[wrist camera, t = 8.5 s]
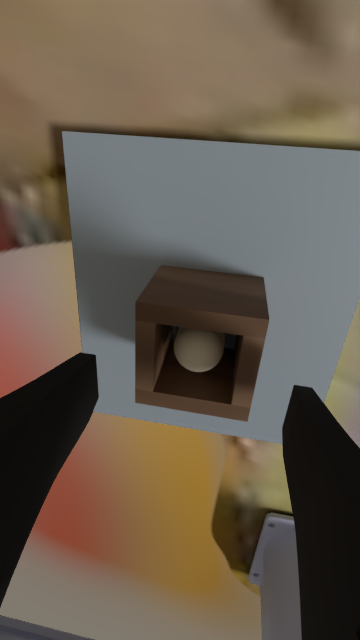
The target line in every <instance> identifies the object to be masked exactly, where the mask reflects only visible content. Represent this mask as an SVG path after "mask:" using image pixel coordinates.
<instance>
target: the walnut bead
mask: <svg viewBox="0 0 360 640" xmlns="http://www.w3.org/2000/svg"><path fill="white" fill-rule="evenodd" d="M268 324H269V313H268V305H267V298H266V290H265V283H264V277H256V276H248V275H239V274H231V273H223V272H214V271H206V270H198V269H189V268H181V267H173V266H164V265H160V267H159V268H158V270H157V271H156V273H155V274H154V276H153V277H152V278H151V280H150V281H149V283H148V284H147V286H146V287H145V289H144V290H143V292H142V293H141V294H140V296H139V297H138V299H137V300H136V302H135V403H139V404H145V405H151V406H157V407H163V408H169V409H175V410H181V411H186V412H192V413H198V414H204V415H210V416H216V417H222V418H227V419H233V420H239V421H245V422H248V417H249V413H250V408H251V403H252V399H253V394H254V389H255V385H256V380H257V375H258V371H259V366H260V361H261V357H262V352H263V348H264V343H265V338H266V334H267V329H268ZM173 326H178V327H185V328H192V329H200V330H207V331H214V332H221V333H228V334H235V335H237V337H236V343H235V349H230V348H224V351H223V355H222V358H221V360H220V361H219V363H218V364H217V365H216V366H215V367H213V368H212V369H210V370H208V371H204V372H194V371H190V370H188V369H186V368H185V367H183V366H182V365H181V364H180V363H179V362H178V360H177V358H176V356H175V353H174V341H175V340H172V334H173Z"/></svg>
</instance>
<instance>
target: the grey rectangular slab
mask: <svg viewBox="0 0 360 640" xmlns="http://www.w3.org/2000/svg"><path fill="white" fill-rule="evenodd" d="M62 138H63V149H64V160H65V170H66V181H67V192H68V203H69V214H70V224H71V235H72V246H73V257H74V268H75V278H76V289H77V299H78V311H79V321H80V331H81V343H82V353H87V354H94V355H96V363H97V378H98V392H99V398H98V401H97V403H96V406H95V408H94V411H93V412H98V413H104V414H110V415H115V416H122V417H127V418H133V419H139V420H145V421H151V422H156V423H163V424H168V425H174V426H180V427H185V428H192V429H197V430H203V431H209V432H215V433H220V434H226V435H232V436H238V437H244V438H250V439H255V440H261V441H267V442H273V443H279V444H283V443H282V426H283V423H284V419H285V415H286V412H287V408H288V404H289V401H290V397H291V393H292V390H293V386H294V385H299V386H306V387H312V388H313V389H314V391H315V392H316V393H317V395H318V396H319V397H320V399H321V400H322V402H323V403H324V401H325V398H326V395H327V392H328V389H329V386H330V383H331V380H332V378H333V375H334V372H335V369H336V366H337V363H338V360H339V357H340V354H341V351H342V348H343V345H344V342H345V339H346V336H347V333H348V330H349V327H350V324H351V321H352V318H353V315H354V312H355V309H356V307H357V304H358V301H359V298H360V151H354V150H339V149H324V148H309V147H294V146H279V145H264V144H249V143H234V142H219V141H204V140H189V139H175V138H160V137H145V136H130V135H115V134H100V133H85V132H69V131H62ZM160 265H164V266H173V267H181V268H189V269H198V270H206V271H214V272H223V273H231V274H239V275H248V276H256V277H264V283H265V290H266V298H267V305H268V313H269V324H268V329H267V334H266V338H265V343H264V348H263V352H262V357H261V361H260V366H259V371H258V375H257V380H256V385H255V389H254V394H253V399H252V403H251V408H250V413H249V417H248V422H245V421H239V420H233V419H227V418H222V417H216V416H210V415H204V414H198V413H192V412H186V411H181V410H175V409H169V408H163V407H157V406H151V405H145V404H139V403H135V302H136V300H137V299H138V297H139V296H140V294H141V293H142V292H143V290H144V289H145V287H146V286H147V284H148V283H149V281H150V280H151V278H152V277H153V276H154V274H155V273H156V271H157V270H158V268H159V267H160ZM236 337H237V335H235V334H228V333H221V332H214V331H207V330H200V329H192V328H185V327H178V326H173V334H172V340H175V341H174V353H175V356H176V358H177V360H178V362H179V363H180V364H181V365H182V366H183V367H185V368H186V369H188V370H190V371H194V372H204V371H208V370H210V369H212V368H213V367H215V366H216V365H217V364H218V363H219V361H220V360H221V358H222V355H223V351H224V348H230V349H235V343H236Z"/></svg>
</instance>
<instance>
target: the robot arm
mask: <svg viewBox="0 0 360 640" xmlns="http://www.w3.org/2000/svg"><path fill="white" fill-rule="evenodd" d="M98 398H99V392H98V378H97V363H96V355H94V354H87V353H79V354H77V355H75V356H74V357H72V358H70V359H68V360H67V361H65V362H64V363H62V364H60V365H59V366H57V367H55V368H54V369H52V370H50V371H49V372H47V373H45V374H44V375H42V376H40V377H39V378H37V379H36V380H33V381H32V382H30V383H28V384H26V385H24V386H23V387H21V388H19V389H17V390H15V391H13V392H11V393H10V394H8V395H6V396H4V397H2V398H0V606H1V604H2V601H3V599H4V596H5V594H6V591H7V588H8V586H9V583H10V580H11V578H12V575H13V573H14V570H15V568H16V566H17V563H18V561H19V558H20V556H21V553H22V551H23V549H24V546H25V544H26V541H27V539H28V537H29V534H30V532H31V530H32V527H33V525H34V523H35V521H36V518H37V516H38V514H39V512H40V509H41V507H42V505H43V503H44V501H45V499H46V496H47V494H48V492H49V490H50V488H51V486H52V484H53V482H54V480H55V478H56V476H57V474H58V473H59V471H60V469H61V468H62V466H63V464H64V462H65V461H66V459H67V458H68V456H69V454H70V452H71V451H72V449H73V447H74V446H75V444H76V442H77V441H78V439H79V437H80V436H81V434H82V432H83V431H84V429H85V427H86V425H87V423H88V421H89V420H90V417H91V415H92V413H93V411H94V408H95V406H96V403H97V401H98ZM282 443H283V458H284V464H285V470H286V476H287V482H288V488H289V494H290V500H291V506H292V512H293V516H288V515H282V514H277V513H268V514H267V515H266V517H265V520H264V524H263V527H262V531H261V534H260V537H259V541H258V544H257V548H256V551H255V555H254V558H253V561H252V565H251V568H250V572H249V575H248V580H249V582H250V583H252V584H256V585H260V596H261V624H262V625H261V626H262V640H360V448H359V447H358V446H357V445H356V444H355V442H354V441H353V440H352V439H351V438H350V437H349V435H348V434H347V433H346V432H345V430H344V429H343V428H342V427H341V425H340V424H339V423H338V422H337V420H336V419H335V418H334V416H333V415H332V414H331V412H330V411H329V410H328V408H327V407H326V406H325V404H324V403H323V402H322V400H321V399H320V397H319V396H318V395H317V393H316V392H315V391H314V389H313V388H312V387H306V386H299V385H294V386H293V390H292V393H291V397H290V401H289V404H288V408H287V412H286V415H285V419H284V423H283V426H282ZM0 640H94V639H90V638H86V637H82V636H78V635H74V634H71V633H67V632H63V631H59V630H55V629H51V628H48V627H44V626H40V625H36V624H32V623H28V622H24V621H21V620H17V619H13V618H9V617H5V616H1V615H0Z"/></svg>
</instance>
